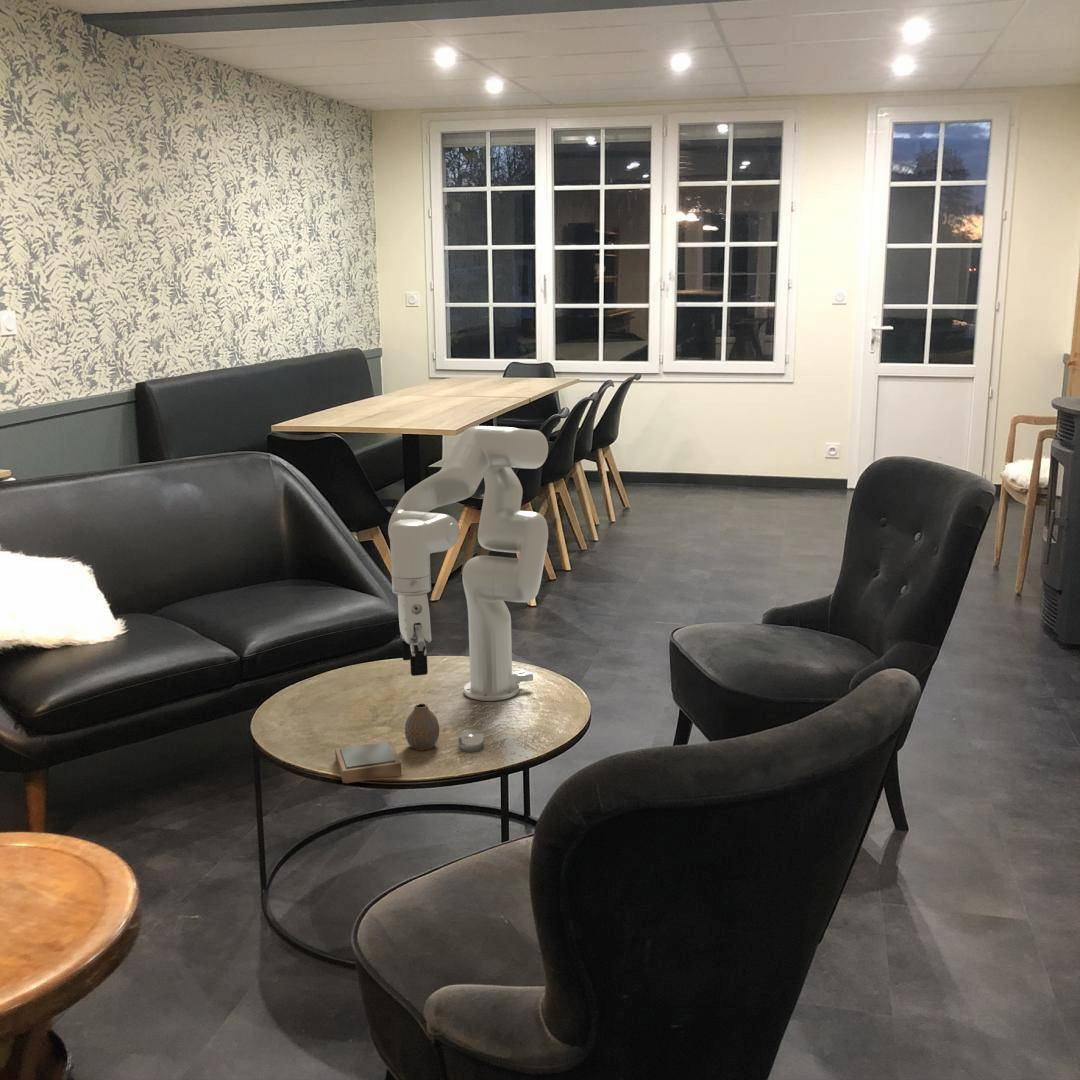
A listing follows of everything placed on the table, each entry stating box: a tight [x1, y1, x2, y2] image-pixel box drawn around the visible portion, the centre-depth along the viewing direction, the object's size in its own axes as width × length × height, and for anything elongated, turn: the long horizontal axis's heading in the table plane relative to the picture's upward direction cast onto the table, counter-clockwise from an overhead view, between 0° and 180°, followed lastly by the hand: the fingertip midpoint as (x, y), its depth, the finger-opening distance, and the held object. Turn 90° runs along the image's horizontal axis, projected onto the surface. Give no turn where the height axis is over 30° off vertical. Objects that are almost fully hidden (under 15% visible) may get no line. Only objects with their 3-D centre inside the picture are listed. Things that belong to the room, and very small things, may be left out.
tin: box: [457, 729, 485, 754], centre depth 222 cm, size 5×5×3 cm
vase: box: [404, 703, 440, 751], centre depth 223 cm, size 7×7×9 cm
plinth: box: [334, 740, 403, 784], centre depth 214 cm, size 11×11×3 cm
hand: (414, 666), depth 220 cm, fingers open, 9 cm apart
